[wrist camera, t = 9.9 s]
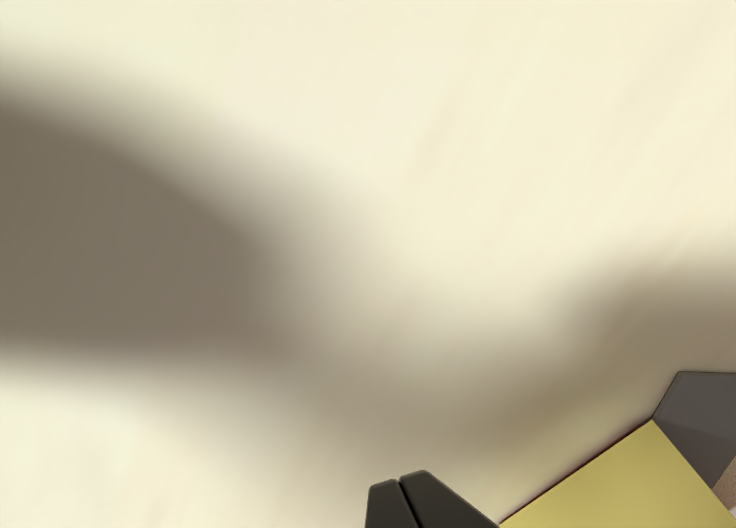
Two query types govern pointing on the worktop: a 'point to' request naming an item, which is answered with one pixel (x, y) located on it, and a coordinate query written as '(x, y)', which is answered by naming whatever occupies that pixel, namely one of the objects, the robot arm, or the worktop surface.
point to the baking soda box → (629, 491)
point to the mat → (701, 421)
